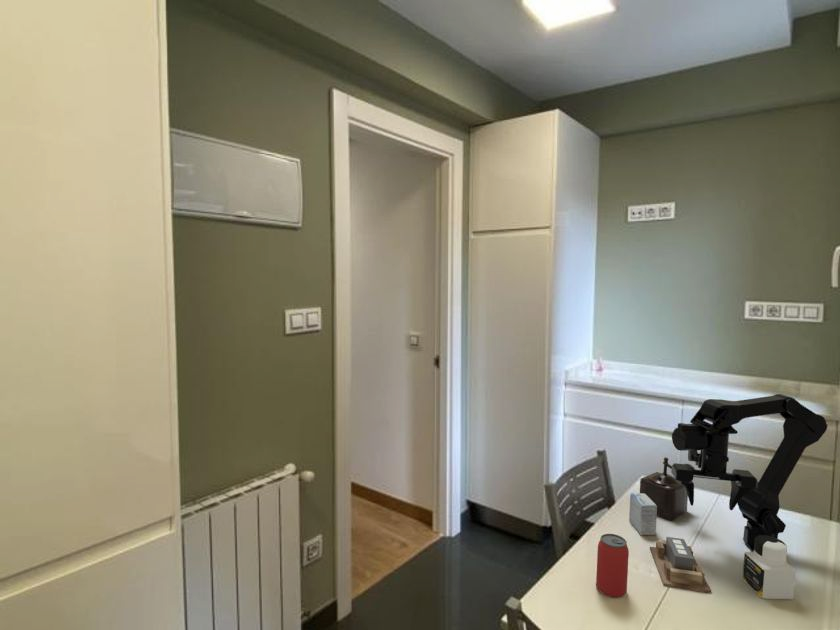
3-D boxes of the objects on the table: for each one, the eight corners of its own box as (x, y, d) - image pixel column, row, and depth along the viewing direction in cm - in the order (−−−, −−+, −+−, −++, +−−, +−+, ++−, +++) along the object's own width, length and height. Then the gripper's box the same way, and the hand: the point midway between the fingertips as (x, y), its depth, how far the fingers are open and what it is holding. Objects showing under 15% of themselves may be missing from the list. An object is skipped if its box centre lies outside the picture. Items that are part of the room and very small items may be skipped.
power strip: (682, 557, 125) (683, 538, 125) (692, 579, 117) (693, 558, 116) (665, 555, 126) (666, 536, 126) (674, 576, 118) (675, 555, 117)
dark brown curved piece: (636, 508, 153) (639, 451, 152) (654, 499, 160) (657, 444, 158) (687, 529, 141) (691, 468, 139) (705, 518, 147) (709, 459, 146)
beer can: (623, 603, 109) (626, 551, 108) (592, 592, 112) (595, 542, 111) (629, 587, 114) (631, 537, 113) (599, 577, 118) (601, 529, 117)
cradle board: (691, 554, 128) (692, 542, 128) (711, 593, 112) (712, 579, 112) (649, 548, 130) (650, 537, 130) (663, 585, 115) (664, 572, 115)
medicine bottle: (741, 579, 118) (745, 531, 117) (772, 580, 118) (776, 532, 116) (761, 599, 111) (765, 547, 110) (794, 600, 110) (798, 548, 109)
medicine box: (656, 535, 137) (657, 505, 136) (639, 535, 137) (641, 505, 136) (643, 521, 145) (645, 493, 144) (628, 521, 145) (630, 492, 144)
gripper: (743, 442, 134) (739, 498, 135) (668, 436, 138) (665, 490, 140) (760, 457, 123) (756, 517, 124) (678, 449, 128) (674, 507, 129)
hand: (710, 507), depth 130 cm, fingers open, 9 cm apart
